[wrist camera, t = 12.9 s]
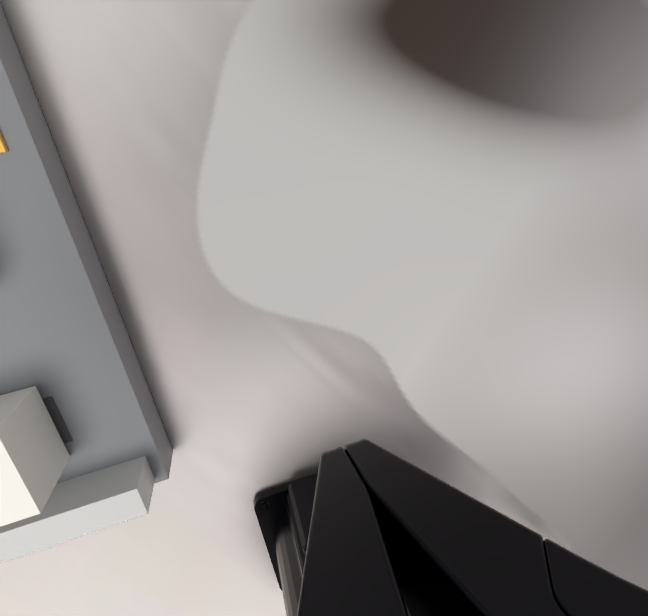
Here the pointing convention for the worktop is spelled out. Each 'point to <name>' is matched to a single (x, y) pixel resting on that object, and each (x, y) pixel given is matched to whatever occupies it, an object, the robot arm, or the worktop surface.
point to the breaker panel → (66, 336)
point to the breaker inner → (27, 455)
